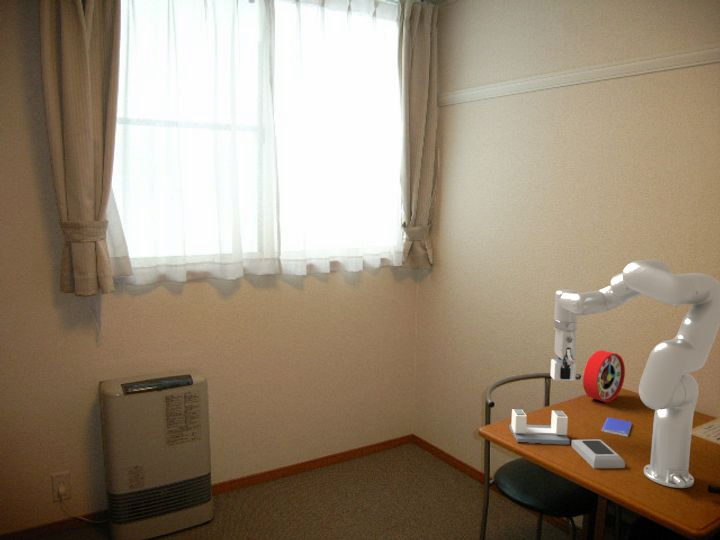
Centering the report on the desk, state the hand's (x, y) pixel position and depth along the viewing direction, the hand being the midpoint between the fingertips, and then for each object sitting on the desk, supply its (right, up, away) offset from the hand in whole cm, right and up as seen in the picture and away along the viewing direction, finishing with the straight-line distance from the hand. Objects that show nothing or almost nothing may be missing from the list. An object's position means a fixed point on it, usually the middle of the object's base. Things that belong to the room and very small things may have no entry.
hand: (562, 375), depth 186 cm
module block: (0, -1, 0) cm, 1 cm away
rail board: (-10, -20, -4) cm, 22 cm away
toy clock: (+29, -16, +32) cm, 46 cm away
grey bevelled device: (+4, -22, -19) cm, 29 cm away
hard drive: (+21, -20, +4) cm, 29 cm away
